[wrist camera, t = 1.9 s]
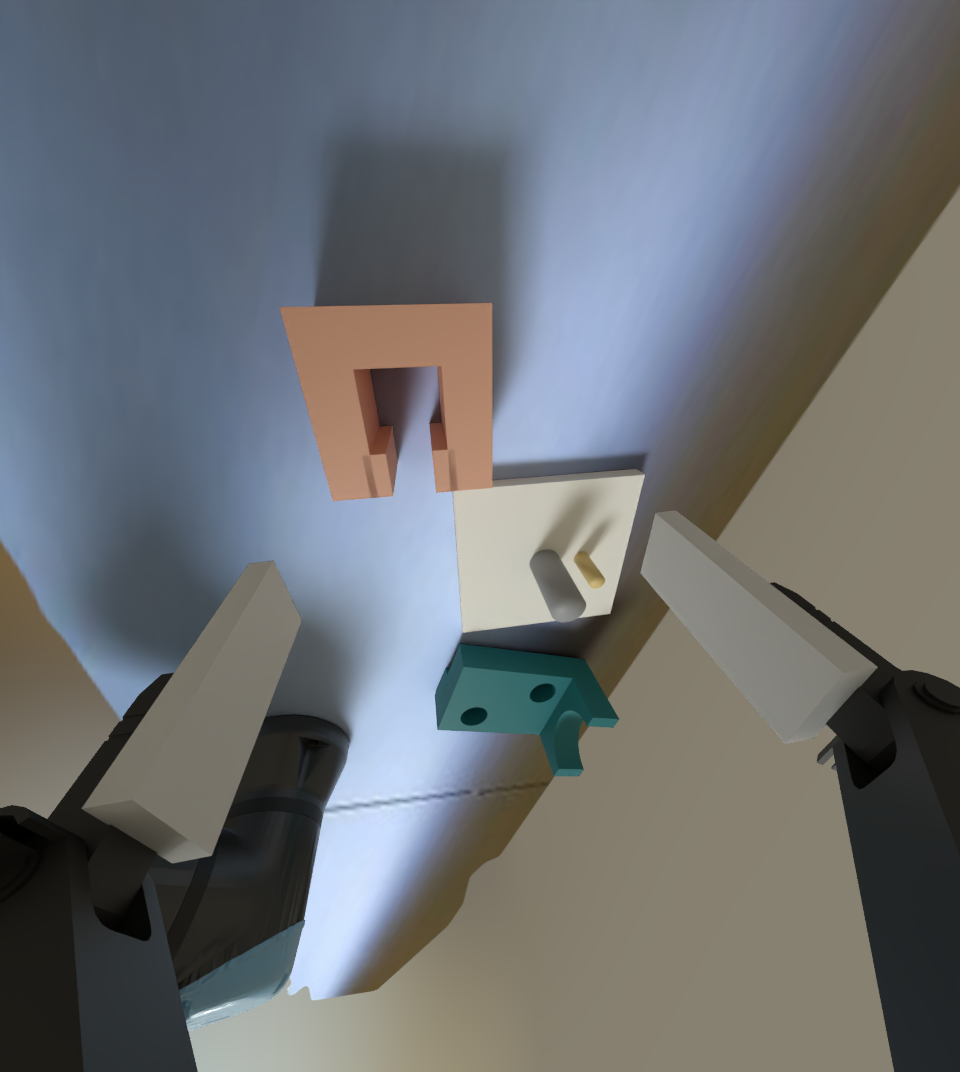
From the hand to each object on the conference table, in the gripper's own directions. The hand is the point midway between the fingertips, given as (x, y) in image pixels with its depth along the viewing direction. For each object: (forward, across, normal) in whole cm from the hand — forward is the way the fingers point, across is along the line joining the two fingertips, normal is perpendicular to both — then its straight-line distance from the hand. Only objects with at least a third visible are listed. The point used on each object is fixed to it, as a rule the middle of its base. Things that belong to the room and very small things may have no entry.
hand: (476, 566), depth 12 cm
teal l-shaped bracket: (+20, +5, -35) cm, 40 cm away
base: (+20, +9, -15) cm, 26 cm away
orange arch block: (+20, -3, +3) cm, 20 cm away
